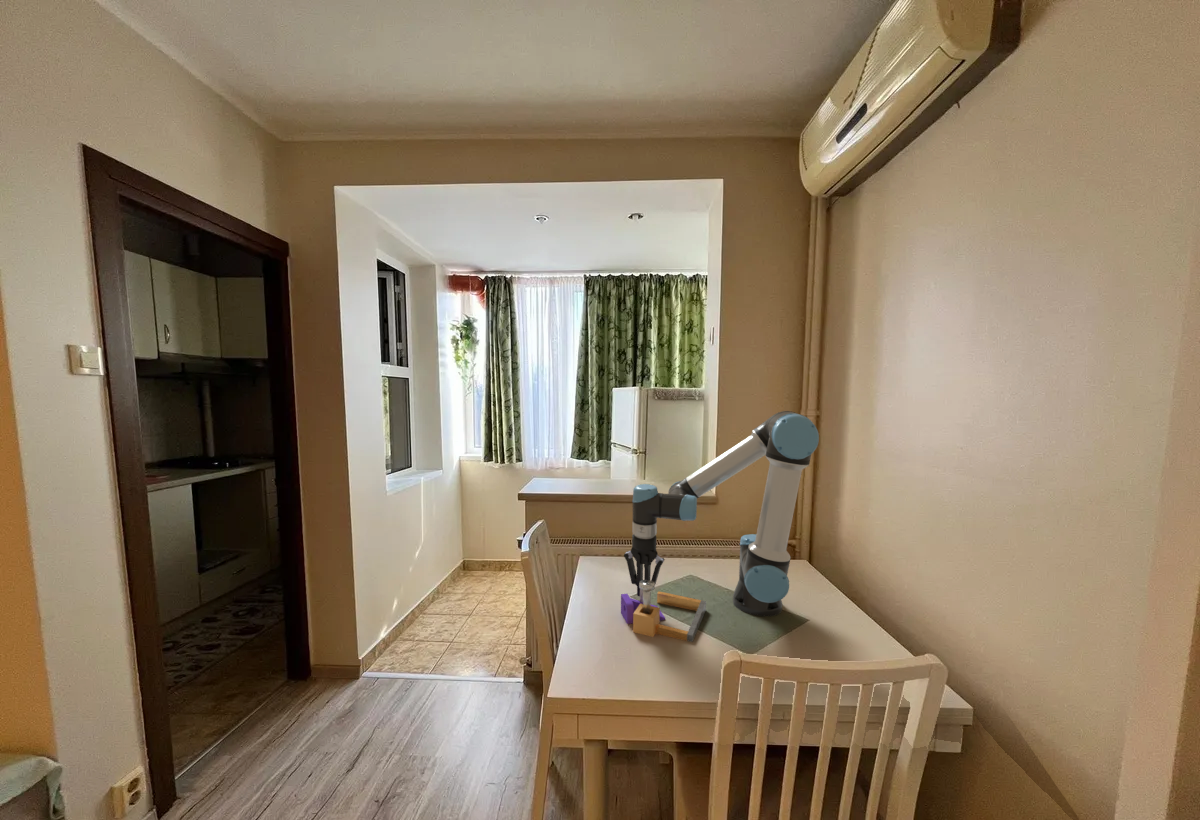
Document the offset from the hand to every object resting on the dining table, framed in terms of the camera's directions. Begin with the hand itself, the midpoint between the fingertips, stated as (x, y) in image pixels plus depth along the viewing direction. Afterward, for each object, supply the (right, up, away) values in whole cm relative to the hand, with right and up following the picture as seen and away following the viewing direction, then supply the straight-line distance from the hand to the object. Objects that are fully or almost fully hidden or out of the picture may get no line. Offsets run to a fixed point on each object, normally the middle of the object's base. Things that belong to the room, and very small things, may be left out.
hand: (643, 606), depth 138 cm
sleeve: (0, -3, -12) cm, 12 cm away
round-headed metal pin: (0, +3, -12) cm, 13 cm away
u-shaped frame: (+8, -2, -6) cm, 10 cm away
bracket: (-1, -2, -4) cm, 5 cm away
